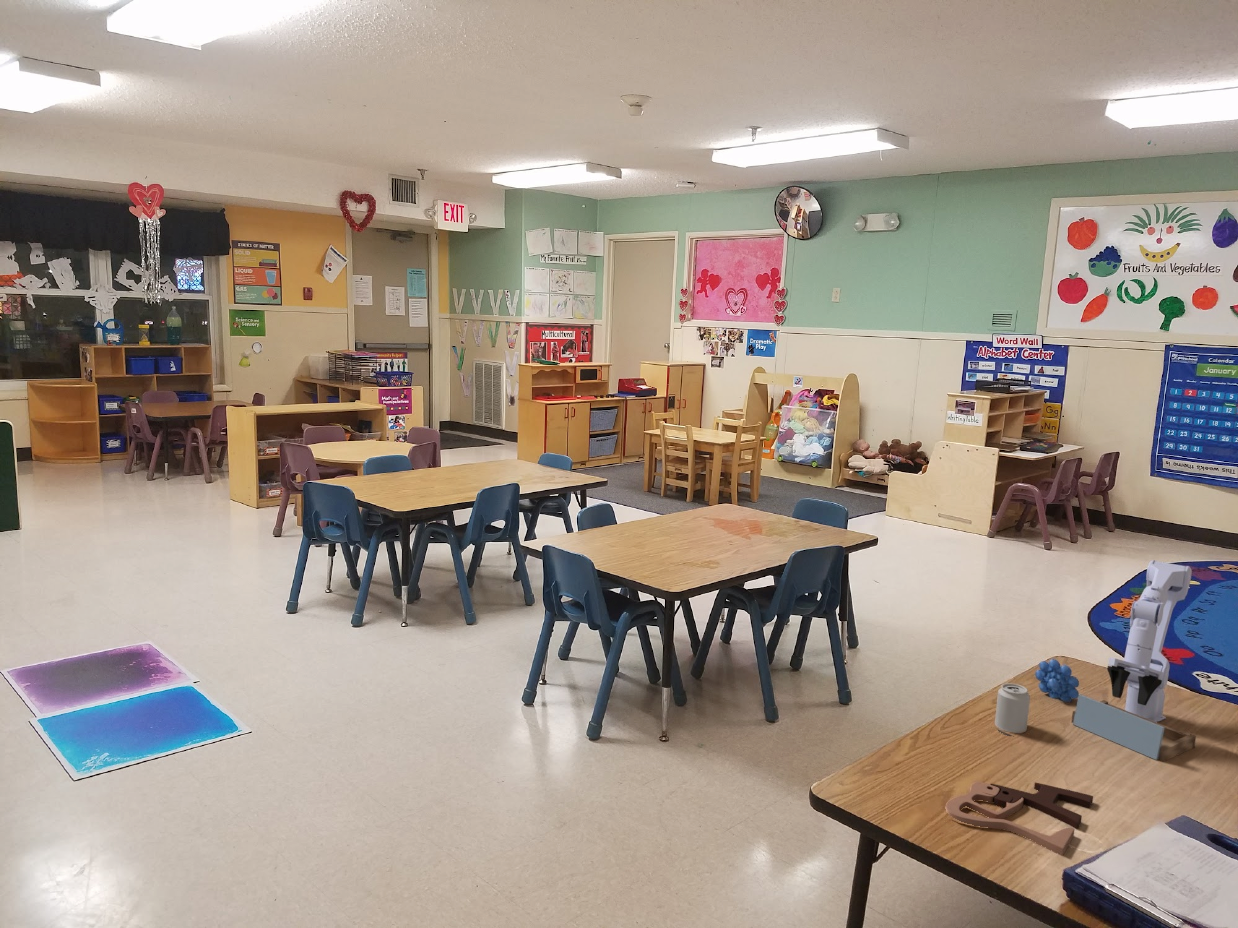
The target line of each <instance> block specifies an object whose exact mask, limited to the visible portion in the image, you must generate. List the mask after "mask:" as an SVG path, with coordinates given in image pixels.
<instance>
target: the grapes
mask: <svg viewBox="0 0 1238 928" xmlns="http://www.w3.org/2000/svg"><path fill="white" fill-rule="evenodd" d="M1038 664H1039V665H1038V668H1039V669H1037V670H1036V671H1035V673H1034V675H1035V678H1036V680H1038V681H1039V683H1038V689H1039V690H1040V692H1042V693H1043V694H1048V697H1050V699H1051V698H1052V699H1060V700H1061V702H1064V703H1065V702H1068V703H1069V702H1072V699H1075V700H1076V699H1078V697H1079V695H1080V694H1079V691H1078V689H1077V688H1078V687H1079V686H1080V681H1079V679H1078V678H1077V677H1076V676H1074V675H1072V673H1073V672H1072V669H1071V667H1070V666H1069V665H1067V664H1062V665H1061V664H1060V661H1059V660H1057V659H1055V658H1052V659H1050V660H1049V661H1045V660H1043V661H1040V662H1039V663H1038Z"/></svg>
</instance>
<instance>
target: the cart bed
mask: <svg viewBox="0 0 1238 928" xmlns="http://www.w3.org/2000/svg"><path fill="white" fill-rule="evenodd" d="M1099 702H1101V703H1104V704H1106V705H1109V706H1111V707H1114V708H1116V709H1119V710H1122V711H1124V712H1127V713H1129V714H1132V715H1134V716H1137V717H1139V718H1142V719H1144V720H1147V721H1150V722H1152V723H1155V724H1157V725H1160V726H1162V727H1165V728H1164V733H1163V738H1162V743H1161V747H1160V752H1159V757H1158V760H1159V761H1161V762H1165V761H1167V760H1170V759H1172V758H1175V757H1176V756H1179V755H1181V754H1183V753H1185V752H1187V751H1190V750H1193V749H1195V747H1196V746H1195V745H1196V738H1197V736H1196V735H1194V734H1193V733H1190V734H1187V733H1184V732H1182V731H1179V730H1176V729H1174V728H1171V727H1170V726H1166V725H1164V724H1162V723H1159V722H1154V721H1151V720H1149V719H1146V718H1144V717H1141V716H1139V715H1136V714H1134V713H1131V712H1128V711H1126V710H1125V709H1123V708H1120V707H1117V706H1115V705H1113V704H1111V703H1109V701H1107V700H1101V701H1099ZM1075 712H1076V709H1075V710H1072V713H1071V714H1072V716H1071V723H1072V724H1073V722H1074V717H1075Z"/></svg>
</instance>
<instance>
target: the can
mask: <svg viewBox="0 0 1238 928" xmlns="http://www.w3.org/2000/svg"><path fill="white" fill-rule="evenodd" d="M1000 686H1001V687H1000V688H999V689H998V690H997V697H996V699H997V700H996V708H995V709H996V710H995V716H994V717H995V718H994V725H995V726H996V729H997V731H998V732H999V733H1000V732H1001V733H1000V734H1002V733H1003V734H1002V735H1004V736H1006V735H1007V737H1011V736H1013V738H1015V736H1014V735H1011V734H1009V733H1013V734H1022V733H1024V732H1025V733H1026V731H1027V729H1028V728H1027V727H1028V720H1029V711H1030V710H1029V709H1030V702H1031V701H1030V700H1031V696H1030V694H1029V693H1028V691H1029V690H1028V688H1026V686H1024V685H1021V684H1017V683H1010V682H1008V683H1003V684H1001V685H1000ZM1007 732H1008V733H1007Z"/></svg>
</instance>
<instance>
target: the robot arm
mask: <svg viewBox="0 0 1238 928" xmlns="http://www.w3.org/2000/svg"><path fill="white" fill-rule="evenodd" d="M1146 568H1147V569H1146V587H1145V588H1144V589H1143V591H1142V593H1141V595H1140V596H1139V598H1138V599H1137V600H1133V602H1132V605H1131V608H1130V620H1129V627H1130V629H1129V634H1128V639H1127V641H1126V642H1127V643H1126V648H1125V653H1124V658H1123V660H1122V659H1118V658H1114V657H1110V656H1109V657H1108V662H1107V672H1108V676H1109V679H1110V683H1111V693H1112V694H1111V695H1112V697H1114V698H1119V699H1121V698H1122V696H1123V693H1124V689H1125V685H1127V689H1126V690H1127V691H1126V699H1125V706H1124V710H1126V711H1128V712H1131V713H1134V714H1136V715H1139V716H1141V717H1144V718H1146V719H1149V720H1151V721H1154V722H1156V723H1159V722H1160V721H1163V720H1166V718H1167V717H1166V716H1164V706H1165V698H1166V692H1165V690H1164V689H1166V686H1167V684H1168V680H1169V672H1170V667H1171V665H1170V662H1169V660H1168V658H1166V657H1165V656H1164V655H1163V653H1162V650H1163V647H1164V643H1165V639H1166V635H1167V632H1168V628H1169V624H1170V622H1171V617H1172V613H1173V610H1174V608H1175V606H1176V604H1177V602H1179V601H1182V600H1185V599H1186V596H1187V595H1188V591H1189V587H1190V584H1191V581H1192V580H1191V579H1192V568H1191V567H1190V566H1189V565H1181V564H1175V563H1169V562H1162V561H1157V560H1155V559H1152V560H1151V561H1149V562H1148V566H1147V567H1146Z"/></svg>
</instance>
